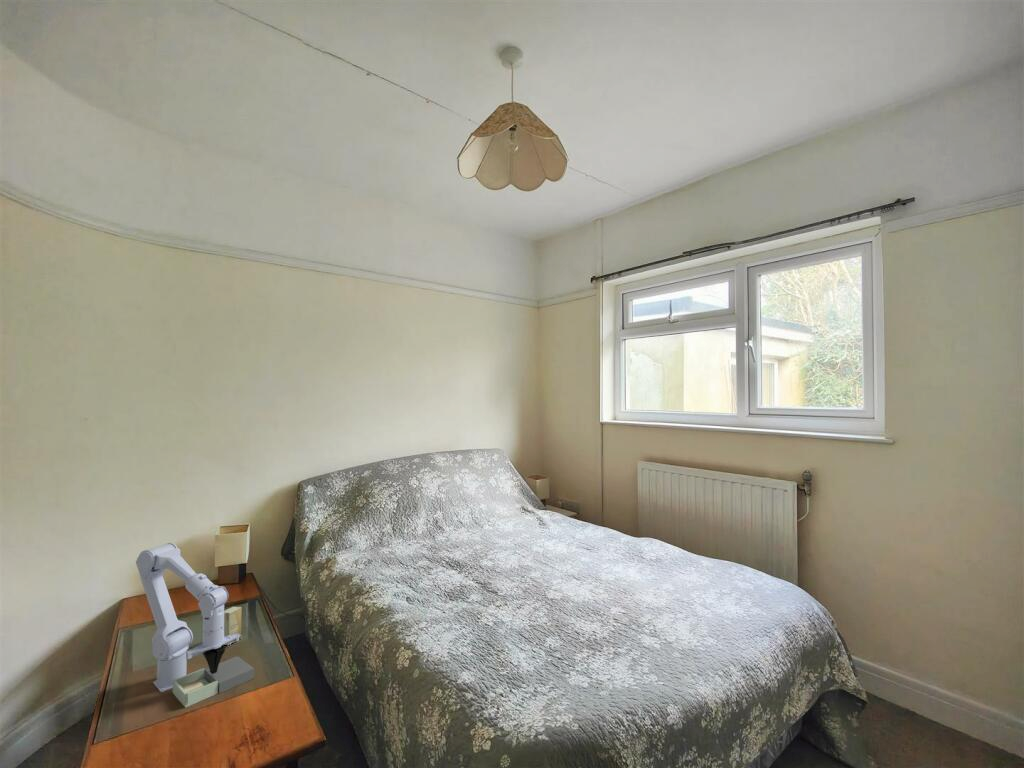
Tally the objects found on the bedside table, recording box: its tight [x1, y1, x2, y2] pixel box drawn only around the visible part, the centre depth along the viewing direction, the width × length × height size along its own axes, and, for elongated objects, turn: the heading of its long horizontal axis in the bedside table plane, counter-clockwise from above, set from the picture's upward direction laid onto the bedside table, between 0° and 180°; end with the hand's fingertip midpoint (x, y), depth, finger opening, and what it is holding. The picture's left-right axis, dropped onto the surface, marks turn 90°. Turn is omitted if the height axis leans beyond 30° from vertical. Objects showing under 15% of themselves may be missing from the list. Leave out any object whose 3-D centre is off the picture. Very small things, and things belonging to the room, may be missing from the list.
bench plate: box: [204, 655, 255, 694], centre depth 148 cm, size 14×10×3 cm
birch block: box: [181, 680, 203, 693], centre depth 139 cm, size 5×5×2 cm
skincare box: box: [224, 606, 243, 645], centre depth 173 cm, size 6×4×12 cm
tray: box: [171, 667, 219, 708], centre depth 140 cm, size 13×8×4 cm, turn 51°
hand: (213, 672), depth 144 cm, fingers closed
